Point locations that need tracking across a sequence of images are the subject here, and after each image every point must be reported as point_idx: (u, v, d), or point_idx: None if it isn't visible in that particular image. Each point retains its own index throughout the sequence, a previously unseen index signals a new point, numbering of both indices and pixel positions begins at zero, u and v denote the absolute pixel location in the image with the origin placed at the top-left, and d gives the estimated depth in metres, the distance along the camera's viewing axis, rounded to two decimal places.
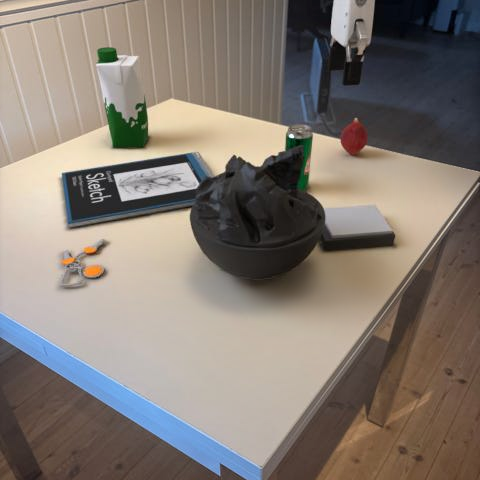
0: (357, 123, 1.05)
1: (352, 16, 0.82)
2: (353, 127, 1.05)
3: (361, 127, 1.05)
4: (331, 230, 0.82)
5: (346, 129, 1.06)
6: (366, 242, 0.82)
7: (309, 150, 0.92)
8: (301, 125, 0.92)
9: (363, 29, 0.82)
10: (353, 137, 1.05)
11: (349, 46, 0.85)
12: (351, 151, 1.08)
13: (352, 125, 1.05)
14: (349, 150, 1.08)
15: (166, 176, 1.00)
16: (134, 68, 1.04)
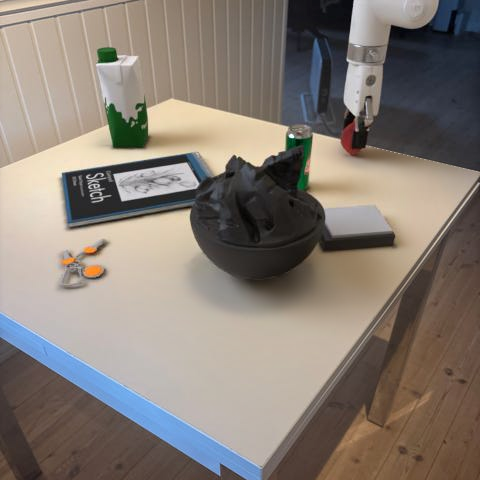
0: None
1: (362, 93, 0.97)
2: (353, 127, 1.05)
3: None
4: (331, 230, 0.82)
5: (346, 129, 1.06)
6: (366, 242, 0.82)
7: (309, 150, 0.92)
8: (301, 125, 0.92)
9: (370, 109, 0.98)
10: None
11: (358, 119, 1.01)
12: (351, 151, 1.08)
13: (352, 125, 1.05)
14: (349, 150, 1.08)
15: (166, 176, 1.00)
16: (134, 68, 1.04)
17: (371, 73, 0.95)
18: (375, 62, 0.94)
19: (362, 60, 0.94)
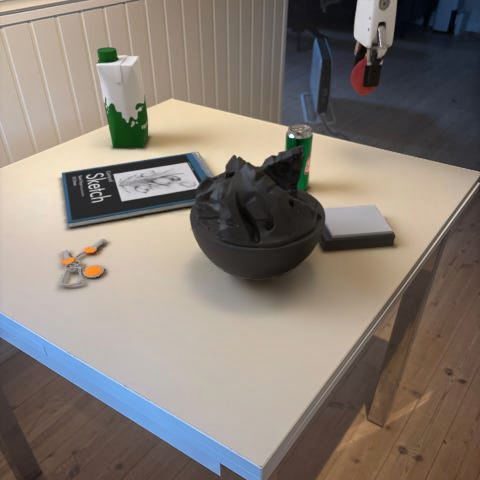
0: None
1: (375, 19, 0.88)
2: (364, 63, 0.96)
3: None
4: (331, 230, 0.82)
5: (357, 66, 0.97)
6: (366, 242, 0.82)
7: (309, 150, 0.92)
8: (301, 125, 0.92)
9: (384, 37, 0.88)
10: None
11: (370, 51, 0.92)
12: (362, 91, 0.99)
13: (363, 61, 0.96)
14: (360, 90, 0.98)
15: (166, 176, 1.00)
16: (134, 68, 1.04)
17: None
18: None
19: None
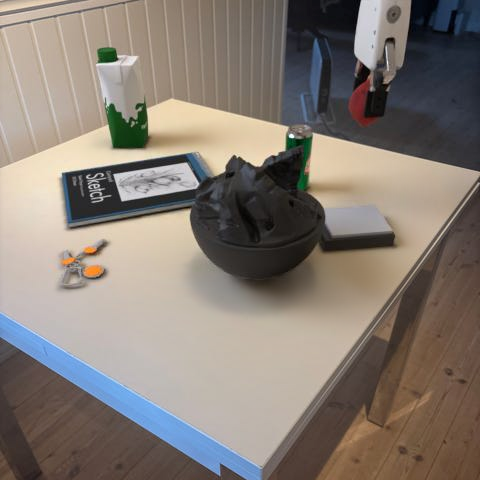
0: None
1: (381, 34, 0.68)
2: (366, 87, 0.76)
3: None
4: (331, 230, 0.82)
5: (357, 90, 0.77)
6: (366, 242, 0.82)
7: (309, 150, 0.92)
8: (301, 125, 0.92)
9: (392, 57, 0.69)
10: None
11: (374, 74, 0.72)
12: (363, 121, 0.79)
13: (365, 84, 0.76)
14: (361, 120, 0.79)
15: (166, 176, 1.00)
16: (134, 68, 1.04)
17: (395, 3, 0.66)
18: None
19: None
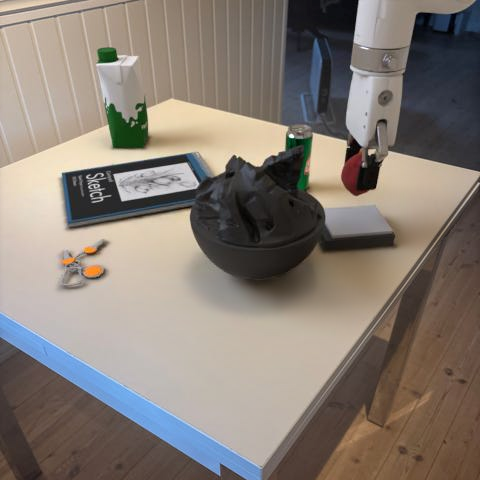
0: None
1: (373, 116, 0.68)
2: (358, 160, 0.76)
3: None
4: (331, 230, 0.82)
5: (349, 163, 0.77)
6: (366, 242, 0.82)
7: (309, 150, 0.92)
8: (301, 125, 0.92)
9: (384, 138, 0.69)
10: None
11: (366, 151, 0.72)
12: (356, 192, 0.79)
13: (357, 157, 0.76)
14: (353, 191, 0.79)
15: (166, 176, 1.00)
16: (134, 68, 1.04)
17: (386, 87, 0.66)
18: (392, 72, 0.65)
19: (373, 69, 0.65)
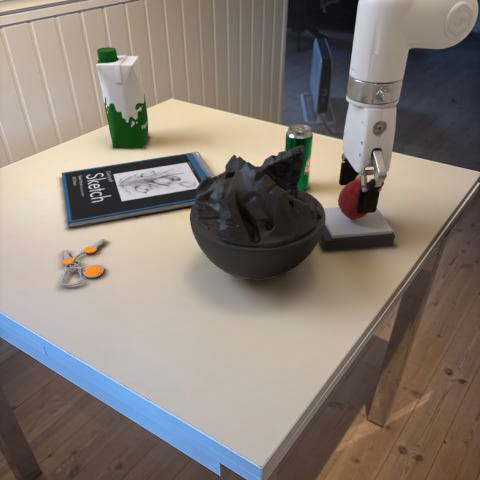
0: (360, 182, 0.79)
1: (368, 145, 0.71)
2: (355, 187, 0.79)
3: None
4: (331, 230, 0.82)
5: (345, 189, 0.80)
6: (366, 242, 0.82)
7: (309, 150, 0.92)
8: (301, 125, 0.92)
9: (382, 161, 0.70)
10: (354, 201, 0.79)
11: (365, 175, 0.73)
12: (352, 217, 0.82)
13: (353, 184, 0.79)
14: (349, 216, 0.82)
15: (166, 176, 1.00)
16: (134, 68, 1.04)
17: (381, 118, 0.68)
18: (386, 104, 0.68)
19: (368, 101, 0.68)
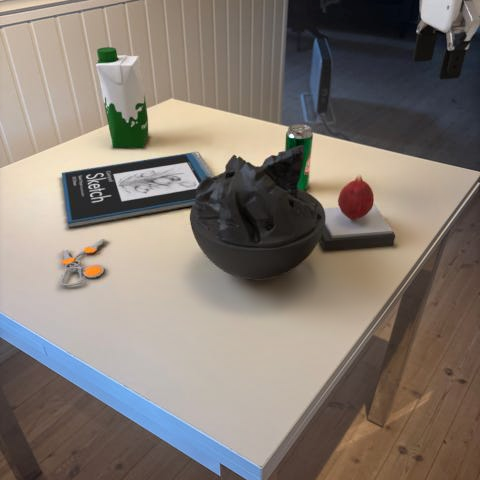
0: (360, 182, 0.79)
1: None
2: (355, 187, 0.79)
3: (365, 187, 0.79)
4: (331, 230, 0.82)
5: (345, 189, 0.80)
6: (366, 242, 0.82)
7: (309, 150, 0.92)
8: (301, 125, 0.92)
9: (474, 9, 0.67)
10: (354, 201, 0.79)
11: (452, 31, 0.70)
12: (352, 217, 0.82)
13: (353, 184, 0.79)
14: (349, 216, 0.82)
15: (166, 176, 1.00)
16: (134, 68, 1.04)
17: None
18: None
19: None
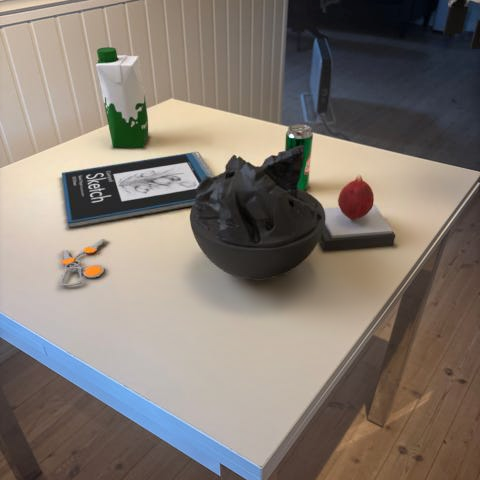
0: (360, 182, 0.79)
1: None
2: (355, 187, 0.79)
3: (365, 187, 0.79)
4: (331, 230, 0.82)
5: (345, 189, 0.80)
6: (366, 242, 0.82)
7: (309, 150, 0.92)
8: (301, 125, 0.92)
9: None
10: (354, 201, 0.79)
11: None
12: (352, 217, 0.82)
13: (353, 184, 0.79)
14: (349, 216, 0.82)
15: (166, 176, 1.00)
16: (134, 68, 1.04)
17: None
18: None
19: None
